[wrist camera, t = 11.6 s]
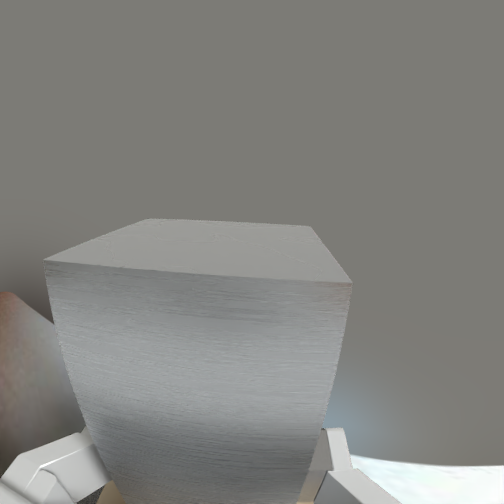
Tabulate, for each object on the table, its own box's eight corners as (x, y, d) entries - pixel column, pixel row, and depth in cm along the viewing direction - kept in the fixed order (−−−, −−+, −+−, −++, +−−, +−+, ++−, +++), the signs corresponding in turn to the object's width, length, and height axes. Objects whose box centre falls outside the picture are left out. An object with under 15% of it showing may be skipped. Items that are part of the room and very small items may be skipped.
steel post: (171, 566, 7) (43, 259, 3) (187, 506, 11) (147, 218, 7) (263, 578, 7) (352, 282, 3) (267, 515, 10) (309, 226, 7)
